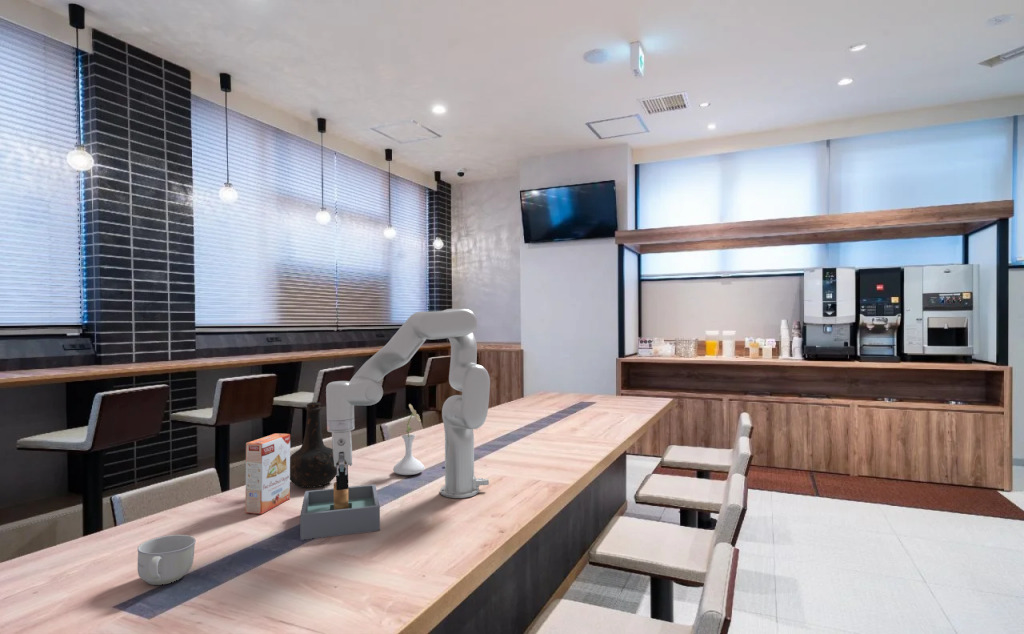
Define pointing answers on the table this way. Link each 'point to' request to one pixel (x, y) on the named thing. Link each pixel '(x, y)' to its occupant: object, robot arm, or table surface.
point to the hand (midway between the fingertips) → (342, 484)
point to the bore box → (339, 513)
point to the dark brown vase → (312, 454)
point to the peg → (340, 498)
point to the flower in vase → (409, 453)
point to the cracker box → (267, 473)
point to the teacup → (165, 558)
